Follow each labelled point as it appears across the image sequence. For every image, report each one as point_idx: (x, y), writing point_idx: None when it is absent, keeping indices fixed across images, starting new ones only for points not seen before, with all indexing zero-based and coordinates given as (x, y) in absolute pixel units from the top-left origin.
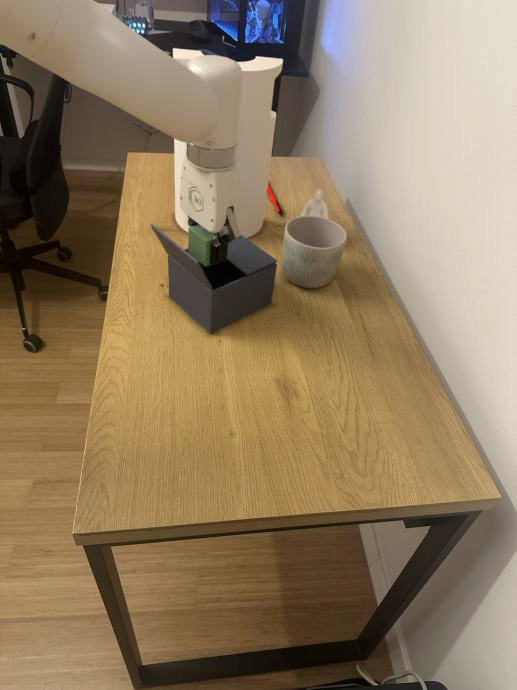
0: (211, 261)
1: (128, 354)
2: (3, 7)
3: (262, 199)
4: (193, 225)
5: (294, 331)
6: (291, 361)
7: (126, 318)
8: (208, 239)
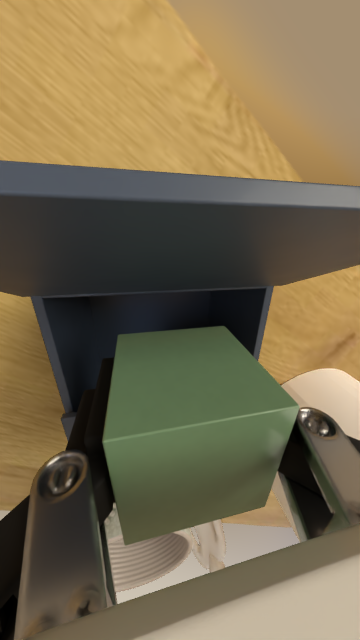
0: (105, 366)
1: (102, 28)
2: None
3: (277, 499)
4: (295, 430)
5: (18, 389)
6: None
7: (216, 133)
8: (120, 458)
